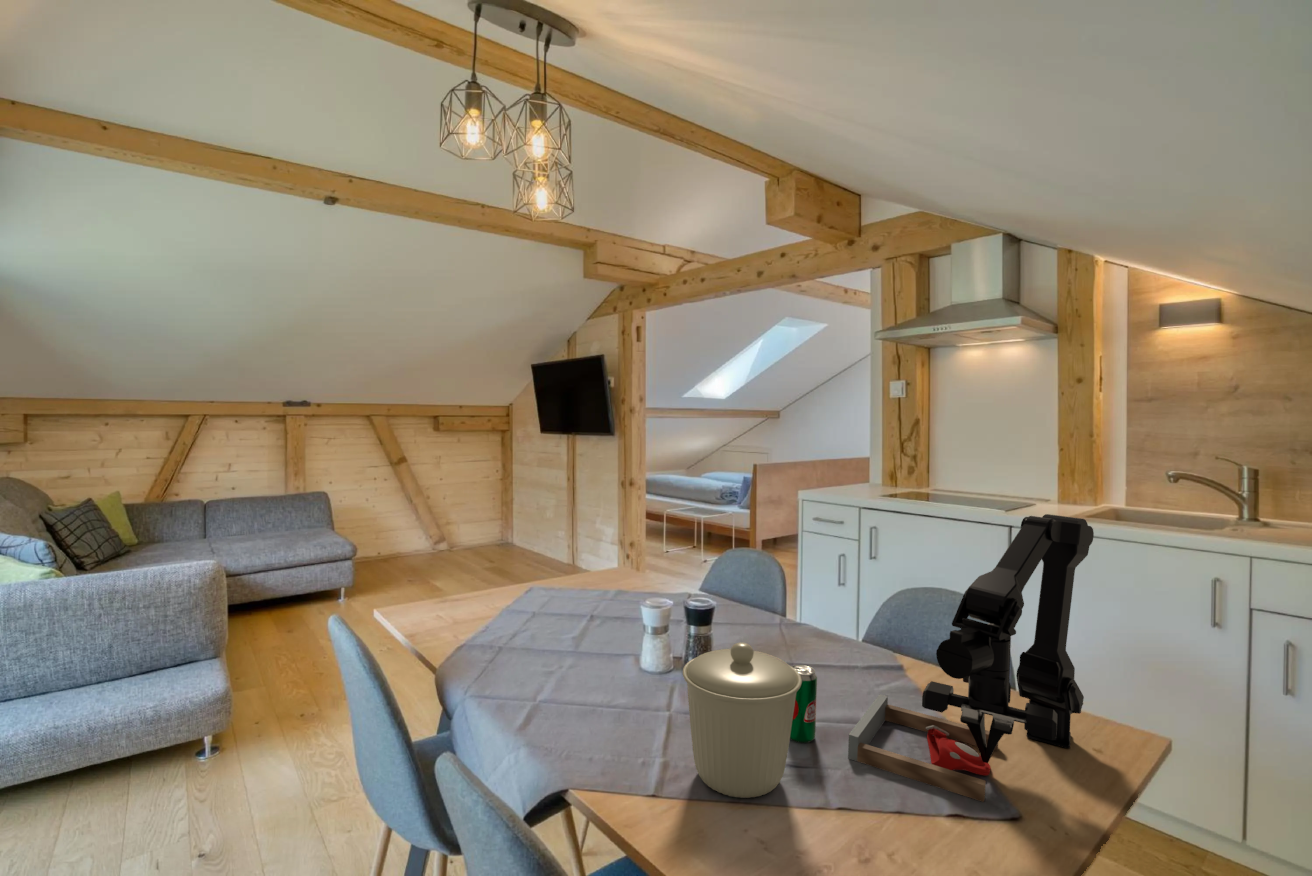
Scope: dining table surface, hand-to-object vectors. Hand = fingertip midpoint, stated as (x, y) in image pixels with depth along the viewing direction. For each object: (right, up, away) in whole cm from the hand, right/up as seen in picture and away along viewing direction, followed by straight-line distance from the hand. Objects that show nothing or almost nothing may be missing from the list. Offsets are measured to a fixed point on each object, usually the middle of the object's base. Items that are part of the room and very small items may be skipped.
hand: (985, 761), depth 101 cm
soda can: (-27, -1, +10) cm, 29 cm away
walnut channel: (-8, -1, +5) cm, 9 cm away
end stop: (-15, -1, +10) cm, 18 cm away
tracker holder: (-3, -2, +4) cm, 5 cm away
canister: (-40, -1, -3) cm, 40 cm away
